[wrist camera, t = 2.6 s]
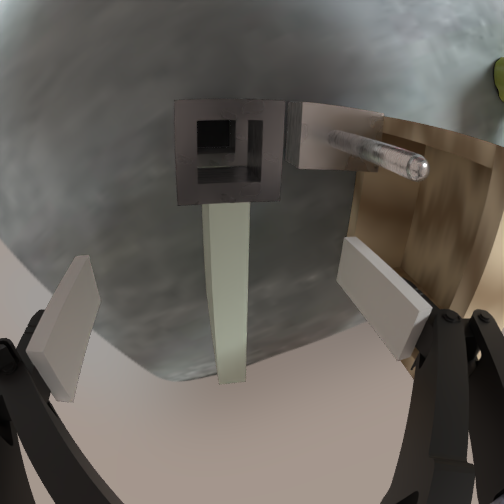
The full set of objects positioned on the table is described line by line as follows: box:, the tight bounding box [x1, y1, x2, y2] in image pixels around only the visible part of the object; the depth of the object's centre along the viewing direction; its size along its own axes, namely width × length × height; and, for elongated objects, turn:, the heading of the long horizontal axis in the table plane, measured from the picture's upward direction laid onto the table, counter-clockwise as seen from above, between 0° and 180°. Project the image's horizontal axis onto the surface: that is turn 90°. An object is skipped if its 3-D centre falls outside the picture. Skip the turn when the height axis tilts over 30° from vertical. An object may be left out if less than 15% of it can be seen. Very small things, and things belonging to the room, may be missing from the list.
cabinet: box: [285, 102, 504, 379], centre depth 18 cm, size 15×14×14 cm
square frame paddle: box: [174, 99, 285, 384], centre depth 17 cm, size 15×4×10 cm, turn 179°
